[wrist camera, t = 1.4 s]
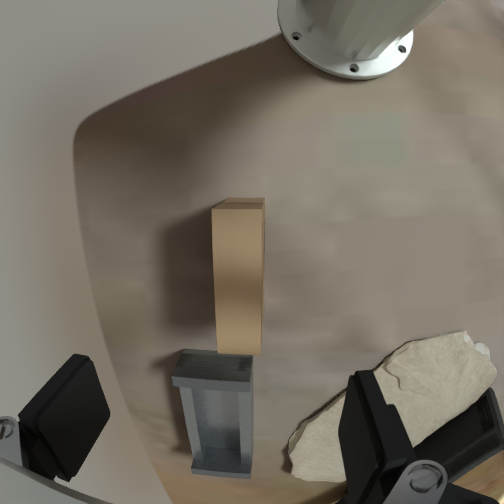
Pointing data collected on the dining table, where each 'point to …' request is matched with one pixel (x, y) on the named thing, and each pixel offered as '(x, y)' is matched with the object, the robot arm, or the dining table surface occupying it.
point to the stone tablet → (401, 399)
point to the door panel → (239, 274)
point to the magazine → (463, 439)
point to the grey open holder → (217, 411)
